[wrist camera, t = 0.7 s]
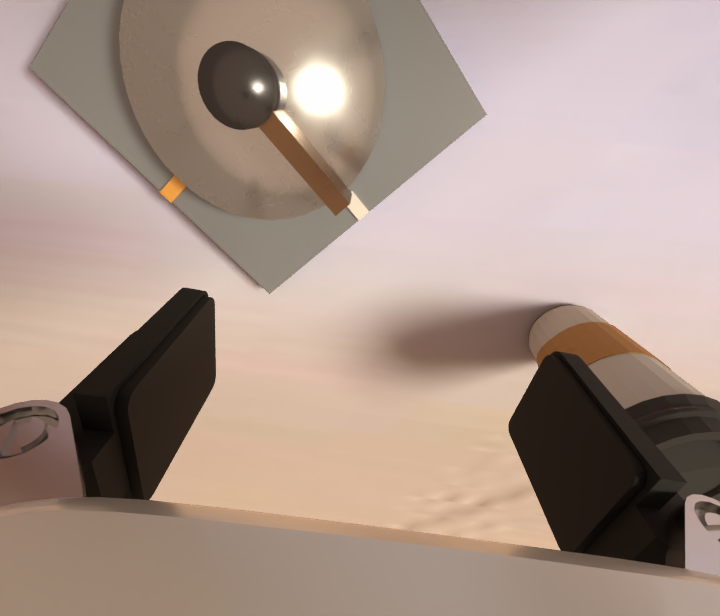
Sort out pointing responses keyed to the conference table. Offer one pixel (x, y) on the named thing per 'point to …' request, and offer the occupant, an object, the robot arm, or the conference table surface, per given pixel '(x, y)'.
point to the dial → (257, 97)
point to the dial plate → (302, 233)
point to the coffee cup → (641, 392)
